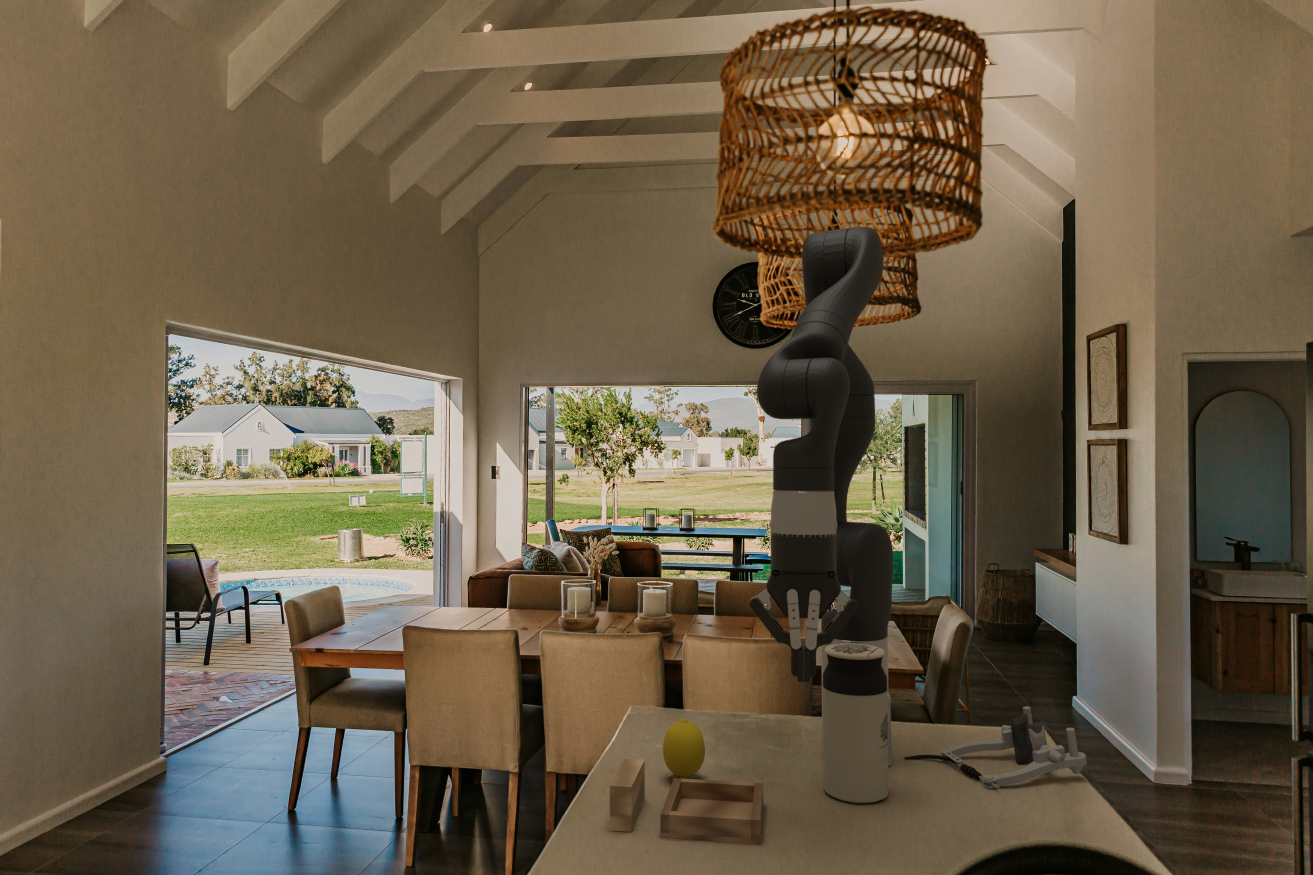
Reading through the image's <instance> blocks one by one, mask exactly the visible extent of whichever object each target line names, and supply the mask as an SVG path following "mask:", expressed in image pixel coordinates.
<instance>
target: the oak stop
mask: <svg viewBox="0 0 1313 875" xmlns="http://www.w3.org/2000/svg"><path fill="white" fill-rule="evenodd" d="M645 761H646V760H645V759H643V758H641V759H639V758H624V759H623V761H622V763H621V765H620V766H619V769H618V770H617V772H616V774H615V776H614V777H613V779H612V780H611V783H610V784H609V831H610V832H611V831H612V832H626V833H627V832H628V833H632V832H633V829H634V827H635V824H636V822H637V819H638V818H639V815H640V813H641V809H642V808H643V806H644V803H645V800H646V798H645V792H646V791H645V789H646V788H645V787H646V786H645V785H646V784H645V780H646V777H645V775H646V774H645V772H646V771H645V769H646V768H645Z"/></svg>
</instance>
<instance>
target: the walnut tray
mask: <svg viewBox="0 0 1313 875" xmlns="http://www.w3.org/2000/svg"><path fill="white" fill-rule="evenodd" d="M763 813H764V783H763V782H749V781H748V782H747V781H732V780H730V781H728V780H711V779H698V778H697V779H695V778H694V779H693V778H687V779H681V778H680V777H679V778H677V777H675V778H673V779H672V783H671V785H670V788H669V791H668V793H667V796H666V799H665V800H664V803H663V806H662V809H661V812H660V814H659V815H660V817H659V818H660V821H659V823H660V824H659V825H660V826H659V827H660V833H659V834H660V839H666V840H667V839H668V840H679V841H682V840H683V841H695V842H709V843H710V842H711V843H712V842H713V843H723V844H724V843H725V844H737V845H738V844H739V845H741V844H742V845H754V846H760V845H761V838H762V828H761V827H762V825H763V823H762V822H763Z"/></svg>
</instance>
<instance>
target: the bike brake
mask: <svg viewBox="0 0 1313 875" xmlns="http://www.w3.org/2000/svg"><path fill="white" fill-rule="evenodd" d="M1031 708H1032V707H1031V706H1023V707H1022V711H1023V714H1021V715H1015V716H1012V717H1010V718H1009V723H1010V725H1006V724H1003V725H1002V726H1001V730H1000V733H1001V736H1000V737H997V738H996V737H995V738H989V739H983V740H978V741H971V742H967V743H962V744H958V745H956V746H952V747H950V748H946V749H943V750H941V751H940V754H941V755H938V754H915V755H909V756H904V760H905V761H912V760H913V761H914V760H915V761H916V760H926V759H927V760H931V759H932V760H941V761H944V762H945V763H946V764H948V765H950V767H952V768H953V769H955V770H957V771H961V772H962V773H963V774H965V775H966V776H967V777H969V778H974V779H975V780H977V781H980V780H982V786H983V787H984V788H985V789H989V790H993V789H995V788H996V789H1000V787H1004V786H1009V785H1013V784H1014V785H1015V784H1019V783H1022V782H1025V781H1028V780H1030V779H1031V780H1032V779H1034V778H1037V777H1039V776H1042V775H1045V774H1048V773H1051V772H1055V771H1058V770H1063V769H1067V768H1068V769H1070V770H1071V772H1072V774H1075V775H1078V774H1079V775H1080V774H1081V771H1083V769H1084V766H1086V765H1087V764H1088V762H1087V755H1086V754H1085V753H1084V752H1082V751H1079V750H1078V744H1077V736H1076V731H1075V728H1073V727H1066V729H1065V732H1066V737H1067V738H1066V739H1067V745H1068V752H1066V750H1065V747H1064V746H1063V745H1061V744H1059V745H1055V746H1051V747H1050V746H1048V743H1047V736H1046V730H1045V729H1046V728H1045V723H1044V721H1039V722H1034V723H1033V715H1032V709H1031ZM1012 748H1013V750H1014V757H1015V763H1016V764H1017V765H1018V766H1019V765H1024V764H1028V765H1026V766H1024V767H1022V768H1020V769H1018V770H1015V771H1011V772H1008V773H1003V774H1002V773H1001V774H997V775H996V774H995V775H991V774H985V775H982V773H981V772H979V771H978V770H977V769H976V768H975V767H972V766H971V765H968V764H967V763H966V764H965V763H964V760H963V759H961V758H960V757H961V756H964V755H967V754H971V753H977V752H978V753H979V752H989V751H990V752H993V751H995V752H996V751H1005V750H1008V749H1012Z"/></svg>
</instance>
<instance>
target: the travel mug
mask: <svg viewBox="0 0 1313 875" xmlns="http://www.w3.org/2000/svg"><path fill="white" fill-rule="evenodd" d="M824 651H825V653H826V654H827V659H828V664H827V666H826V668H825V670H824V672H823V755H822V757H823V758H822V759H823V790H824V791H825V793H827V794H828V795H829V796H831V797H833V798H835V799H837V800H840V801H843V802H846V803H852V804H873V803H876V802H879V801H882V800H883V799H885V798H886V797H888V795H889V765H888V711H887V676H886V674H885V672H884V670H883V668H882V666H881V664H882V658H883V656H884V654H885V651H884V650H883V649H881V648H879V647H876V646H872V645H866V644H854V643H843V644H833V645H829V646H827V647H826V648H825V649H824Z"/></svg>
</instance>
